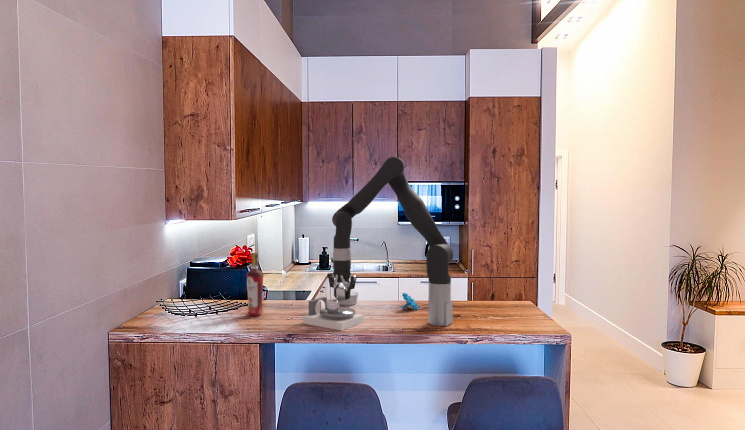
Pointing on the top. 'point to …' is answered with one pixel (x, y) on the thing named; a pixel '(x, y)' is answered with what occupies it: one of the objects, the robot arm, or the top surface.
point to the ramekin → (350, 299)
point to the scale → (327, 322)
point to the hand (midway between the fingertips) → (342, 298)
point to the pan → (342, 313)
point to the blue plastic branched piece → (409, 301)
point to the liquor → (254, 288)
